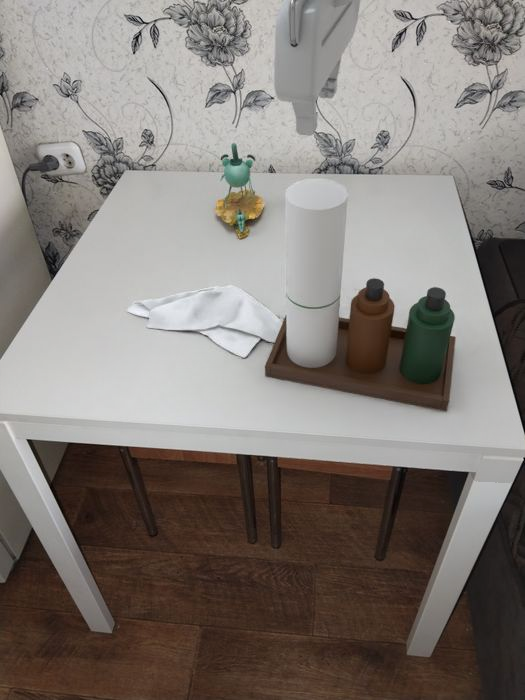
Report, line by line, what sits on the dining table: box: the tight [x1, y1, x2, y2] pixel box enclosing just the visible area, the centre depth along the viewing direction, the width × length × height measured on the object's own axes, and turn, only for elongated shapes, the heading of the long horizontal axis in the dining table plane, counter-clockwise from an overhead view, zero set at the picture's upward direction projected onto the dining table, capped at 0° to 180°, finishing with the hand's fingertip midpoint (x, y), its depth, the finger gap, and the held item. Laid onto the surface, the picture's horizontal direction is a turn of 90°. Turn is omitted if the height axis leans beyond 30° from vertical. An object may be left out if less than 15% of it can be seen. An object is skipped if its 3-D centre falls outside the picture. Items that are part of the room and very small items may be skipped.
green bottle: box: [400, 286, 456, 384], centre depth 77 cm, size 6×6×14 cm
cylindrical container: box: [284, 177, 349, 368], centre depth 76 cm, size 7×7×25 cm
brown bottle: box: [346, 277, 396, 374], centre depth 78 cm, size 6×6×14 cm
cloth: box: [127, 284, 287, 359], centre depth 91 cm, size 26×14×2 cm, turn 62°
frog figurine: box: [214, 142, 266, 239], centre depth 109 cm, size 10×18×15 cm, turn 169°
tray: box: [264, 315, 457, 412], centre depth 83 cm, size 25×13×2 cm, turn 73°
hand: (317, 113), depth 61 cm, fingers open, 8 cm apart
